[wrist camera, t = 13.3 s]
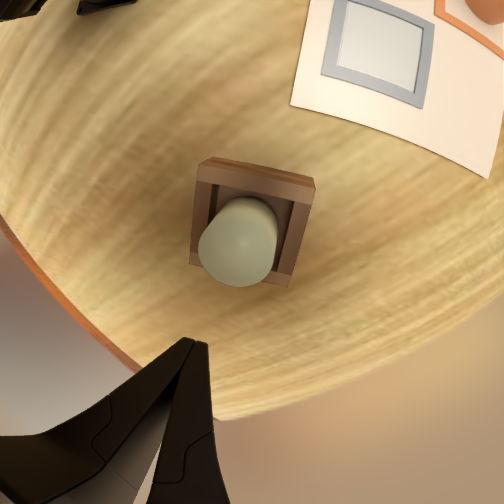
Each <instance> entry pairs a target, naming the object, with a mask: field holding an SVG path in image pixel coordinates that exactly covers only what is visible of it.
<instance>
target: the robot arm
mask: <svg viewBox="0 0 504 504" xmlns="http://www.w3.org/2000/svg"><path fill="white" fill-rule="evenodd" d="M46 1H47V0H0V22H3V21H9V20H14V19H17V18H22V17H27V16H33V15H37V13H38V12H39V11H40V10H41V7H42V6H43V5H44V4H45V2H46ZM136 1H137V0H80V2H79V6H78V9H77V15H80V16H82V15H86V14H89V13H92V12H96V11H100V10H104V9H108V8H112V7H117V6H121V5H126V4H131V3H134V2H136ZM109 395H110V396H109ZM109 395H107V396H105V397H104V398H103V399H101V400H100V401H99V402H97V403H96V404H94V405H93V406H91V407H90V408H88V409H87V410H85V411H83V412H81V413H80V414H78V415H76V416H74V417H73V418H71V419H69V420H67V421H65V422H64V423H61V424H59V425H57V426H55V427H54V428H52V429H50V430H48V431H45V432H43V433H40V434H35V435H24V436H0V504H133V502H134V500H135V497H136V496H137V493H138V491H139V489H140V487H141V485H142V483H143V480H144V478H145V476H146V474H147V472H148V470H149V468H150V465H151V463H152V461H153V459H154V457H155V455H156V453H157V451H158V448H159V446H160V444H161V442H162V444H161V448H160V452H159V456H158V460H157V464H156V468H155V472H154V477H153V481H152V482H153V483H152V486H151V490H150V493H149V496H148V500H147V502H146V504H230V501H229V498H228V494H227V491H226V488H225V485H224V481H223V478H222V474H221V471H220V467H219V462H218V458H217V452H216V445H215V436H214V425H213V414H212V401H211V387H210V371H209V353H208V344H207V343H205V342H201V341H195V340H194V339H191V338H187V337H183V338H181V339H180V340H179V341H177V342H176V343H175V344H174V345H172V346H171V347H170V348H169V349H167V350H166V351H165V352H163V353H162V354H161V355H159V356H158V357H157V358H156V359H154V360H153V361H152V362H150V363H149V364H148V365H147V366H145V367H144V368H143V369H141V370H140V371H139V372H137V373H136V374H135V375H133V376H132V377H131V378H129V379H128V380H127V381H125V382H124V383H123V384H122V385H120V386H119V387H118V388H116V389H115V390H114V391H112V392H111V393H110V394H109Z"/></svg>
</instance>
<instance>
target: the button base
mask: <svg viewBox="0 0 504 504" xmlns="http://www.w3.org/2000/svg"><path fill="white" fill-rule="evenodd" d="M315 190H316V188H315V184H314V180H313V178H311V177H307V176H303V175H299V174H295V173H291V172H286V171H282V170H277V169H273V168H268V167H263V166H259V165H254V164H249V163H244V162H238V161H233V160H227V159H222V158H216V157H212V158H210V159H208V160H206V161H204V162H203V163H201V164H199V165H198V173H197V181H196V190H195V200H194V210H193V221H192V233H191V245H190V259H189V264H192V265H196V266H200V267H203V265H202V263H201V261H200V258H199V253H198V245H199V240H200V238H201V236H202V234H203V232H204V231H205V230H206V228H207V227H208V226H209V224H210V223H211V222H212V220H213V219H214V218H215V216H216V215H217V214H218V212H219V211H220V210H221V209H222V207H223V206H224V205H225V204H226V203H227V202H228V201H230V200H231V199H233V198H235V197H239V196H254V197H258V198H260V199H262V200H264V201H265V202H267V203H268V204H269V205H270V206H271V207H272V208H273V209H274V211H275V213H276V215H277V217H278V221H279V232H278V238H277V243H276V249H275V255H274V260H273V265H272V268H271V270H270V272H269V273H268V275H267V276H266V277H265V278H264V279H263V280H261V281H262V282H266V283H270V284H275V285H279V286H284V287H288V285H289V282H290V279H291V275H292V272H293V269H294V265H295V262H296V259H297V255H298V252H299V248H300V245H301V241H302V238H303V234H304V231H305V227H306V223H307V220H308V216H309V212H310V209H311V205H312V201H313V198H314V194H315Z"/></svg>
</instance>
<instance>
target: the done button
mask: <svg viewBox="0 0 504 504" xmlns="http://www.w3.org/2000/svg"><path fill="white" fill-rule="evenodd" d="M278 232H279V221H278V217H277V215H276V213H275V211H274V209H273V208H272V207H271V206H270V205H269V204H268V203H267V202H265V201H264V200H262V199H260V198H258V197H254V196H239V197H235V198H233V199H231V200H230V201H228V202H227V203H226V204H225V205H224V206H223V207H222V209H221V210H220V211H219V212H218V214H217V215H216V216H215V218H214V219H213V220H212V222H211V223H210V224H209V226H208V227H207V228H206V230H205V231H204V232H203V234H202V236H201V238H200V240H199V245H198V253H199V258H200V261H201V263H202V265H203V267H204V269H205V270H206V271H207V272H208V273H209V274H210V275H211V276H212V277H213V278H214V279H216V280H217V281H219V282H221V283H223V284H226V285H229V286H234V287H246V286H251V285H254V284H256V283H258V282H260V281H261V280H263V279H264V278H265V277H266V276H267V275H268V273H269V272H270V270H271V268H272V265H273V260H274V255H275V249H276V243H277V238H278Z"/></svg>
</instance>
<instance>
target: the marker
mask: <svg viewBox="0 0 504 504" xmlns="http://www.w3.org/2000/svg"><path fill="white" fill-rule="evenodd" d="M465 2H466V4H467V5H468V7H469V8H470V9H471V11H472V12H473V13H474V14H475V15H476V16H477V17H478V18H479V19H480V20H482V21H483V22H485V23H487V24H489V25H496V24H500V23H504V0H465Z"/></svg>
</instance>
